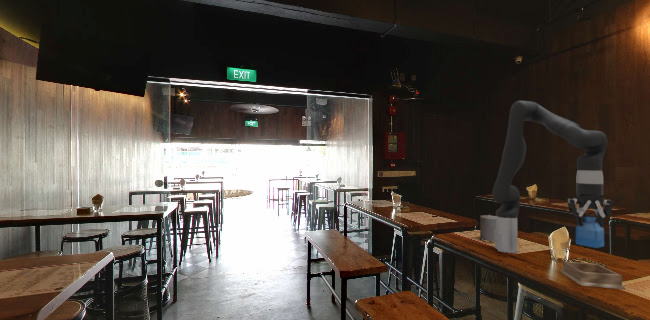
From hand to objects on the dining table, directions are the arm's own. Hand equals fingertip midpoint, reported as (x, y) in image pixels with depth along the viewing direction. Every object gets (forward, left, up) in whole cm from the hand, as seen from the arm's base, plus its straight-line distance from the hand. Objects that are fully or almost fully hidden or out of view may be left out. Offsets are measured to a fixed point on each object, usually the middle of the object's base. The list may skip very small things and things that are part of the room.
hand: (589, 226), depth 108 cm
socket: (0, 0, -20) cm, 20 cm away
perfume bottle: (0, 0, -7) cm, 7 cm away
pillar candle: (-19, +52, -21) cm, 59 cm away
